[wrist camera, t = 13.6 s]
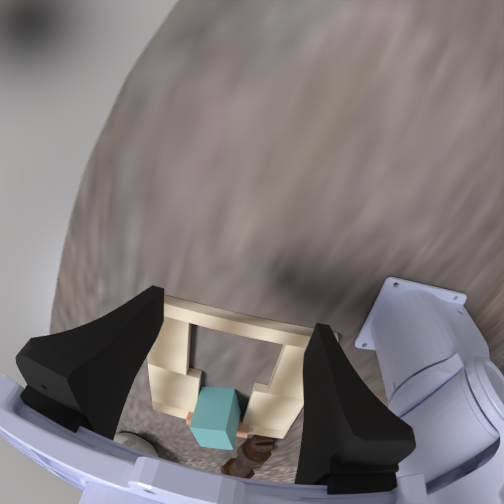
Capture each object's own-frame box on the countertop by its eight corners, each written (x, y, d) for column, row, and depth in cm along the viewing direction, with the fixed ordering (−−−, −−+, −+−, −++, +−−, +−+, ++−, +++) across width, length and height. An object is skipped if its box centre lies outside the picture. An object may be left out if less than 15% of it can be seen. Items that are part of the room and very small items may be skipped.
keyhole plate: (337, 332, 26) (340, 351, 24) (283, 431, 35) (281, 446, 33) (148, 290, 26) (137, 306, 24) (156, 402, 36) (150, 416, 34)
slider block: (234, 388, 32) (225, 431, 26) (240, 410, 34) (233, 450, 29) (201, 386, 32) (189, 427, 27) (210, 408, 35) (200, 446, 29)
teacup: (157, 457, 48) (146, 488, 40) (109, 435, 46) (96, 465, 39) (172, 439, 41) (160, 477, 34) (114, 412, 40) (96, 448, 33)
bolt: (271, 420, 37) (243, 457, 44) (239, 427, 35) (217, 462, 42) (288, 452, 33) (255, 482, 40) (255, 462, 31) (229, 489, 37)
